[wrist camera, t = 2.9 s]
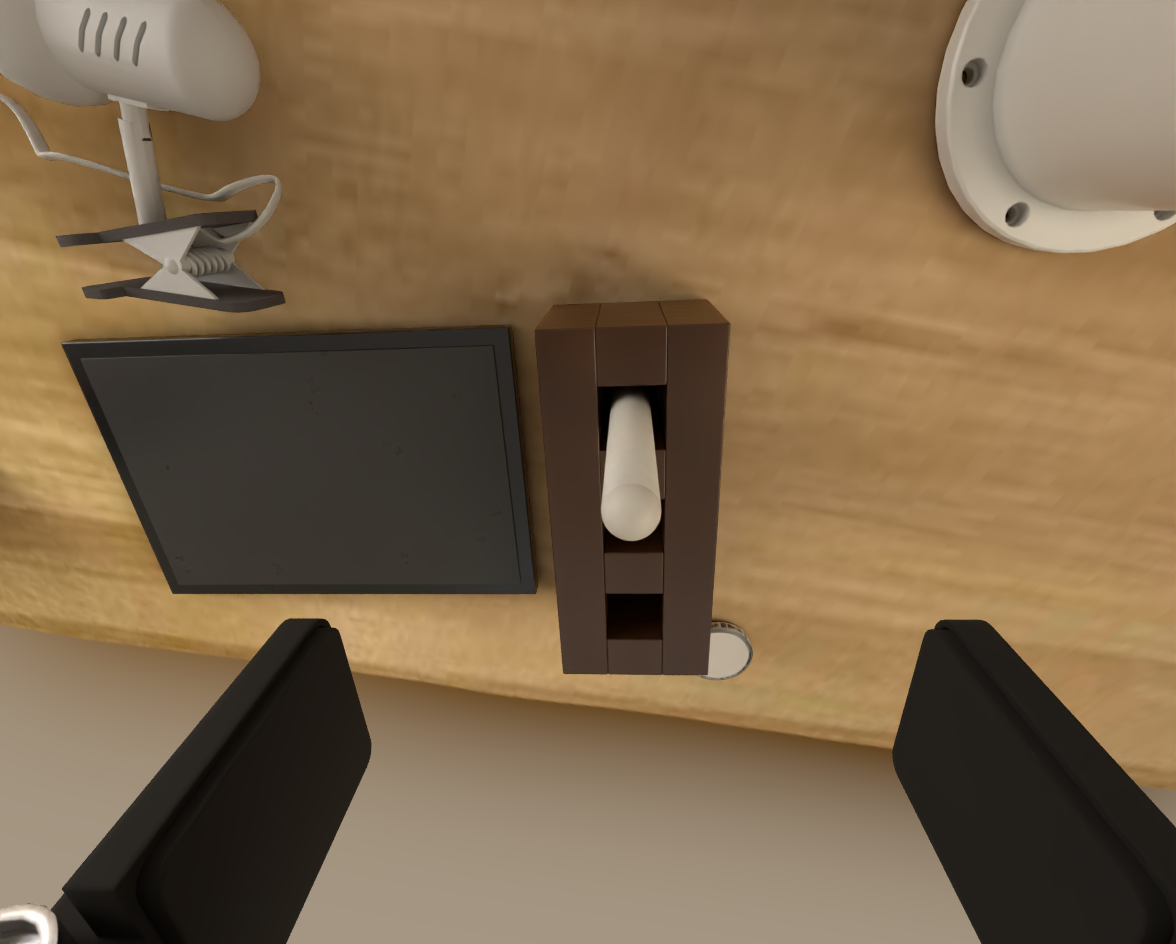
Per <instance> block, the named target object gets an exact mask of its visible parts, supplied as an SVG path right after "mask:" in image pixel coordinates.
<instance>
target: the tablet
mask: <svg viewBox="0 0 1176 944" xmlns="http://www.w3.org/2000/svg"><path fill="white" fill-rule="evenodd" d="M61 344H62V347H63V349H64V351H65V353H66V356H67V358H68V360H69V362H70V365H71V367H72V369H73V371H74V374H75V376H76V378H77V380H78V383H79V385H80V387H81V389H82V391H83V394H84V396H85V398H86V400H87V403H88V405H89V407H90V409H91V412H92V414H93V416H94V418H95V421H96V423H97V425H98V427H99V430H100V432H101V434H102V436H103V439H104V441H105V443H106V445H107V448H108V450H109V452H110V454H111V456H112V459H113V461H114V463H115V465H116V468H117V470H118V472H119V474H120V477H121V479H122V481H123V483H124V486H125V488H126V490H127V492H128V495H129V497H130V499H131V501H132V504H133V506H134V508H135V510H136V512H137V515H138V517H139V519H140V521H141V524H142V526H143V528H144V530H145V533H146V535H147V537H148V539H149V542H150V544H151V546H152V548H153V551H154V553H155V555H156V557H157V560H158V562H159V564H160V566H161V569H162V571H163V573H164V575H165V577H166V580H167V582H168V584H169V586H170V589H171V591H172V593H173V594H536V592H537V588H538V581H537V571H536V561H535V551H534V541H533V531H532V521H531V511H530V501H529V491H528V481H527V471H526V462H525V452H524V442H523V432H522V422H521V412H520V402H519V392H518V382H517V372H516V362H515V352H514V342H513V332H512V325H510V324H509V325H480V326H452V327H423V328H394V329H365V330H337V331H308V332H279V333H250V334H222V335H193V336H164V337H135V338H107V339H78V340H71V341H67V342H63V343H61Z"/></svg>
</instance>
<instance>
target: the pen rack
mask: <svg viewBox="0 0 1176 944" xmlns="http://www.w3.org/2000/svg"><path fill="white" fill-rule="evenodd" d="M729 340H730V323H729V322H728V321H727V320H726V319H725V318H724V317H723V316H722V315H721V313H720V312H719V311H718V310H717V309H716V308H715V307H714V306H713V305H712V304H711V303H710V302H709V301H708V300H706V299H704V300H677V301H659V302H658V301H650V302H623V303H602V304H600V303H596V304H569V305H553V307H552V308H551V309H550V311H549V312H548V313H547V315H546V316H545V317H544V319H543V320H542V321H541V323H540V324H539V325H538V326H537V328H536V329H535V343H536V355H537V367H538V379H539V391H540V403H541V414H542V426H543V438H544V450H545V462H546V474H547V486H548V498H549V510H550V522H551V534H552V546H553V558H554V570H555V582H556V594H557V605H558V617H559V629H560V641H561V653H562V665H563V673H564V674H629V675H661V674H662V675H708V667H709V651H710V636H711V620H712V605H713V589H714V573H715V558H716V542H717V527H718V511H719V495H720V480H721V464H722V449H723V433H724V418H725V402H726V386H727V371H728V355H729ZM645 385H657V403H650V408H651V417H652V427H653V436H654V445H655V455H656V464H657V473H658V482H659V492H660V501H661V518H660V521H659V524H658V525H657V527H656V529H655V530H654V531H653V532H652V533H651V534H650V535H648V536H647V537H645V538H643V539H641V540H637V541H626V540H622V539H620V538H617V537H616V536H614V535H613V534H611V533H610V532H609V531H608V529H607V528H606V526H605V525H604V522H603V520H602V515H601V504H602V493H603V483H604V473H605V462H606V452H607V441H608V431H609V421H610V410H611V404H604V387H607V386H645Z"/></svg>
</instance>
